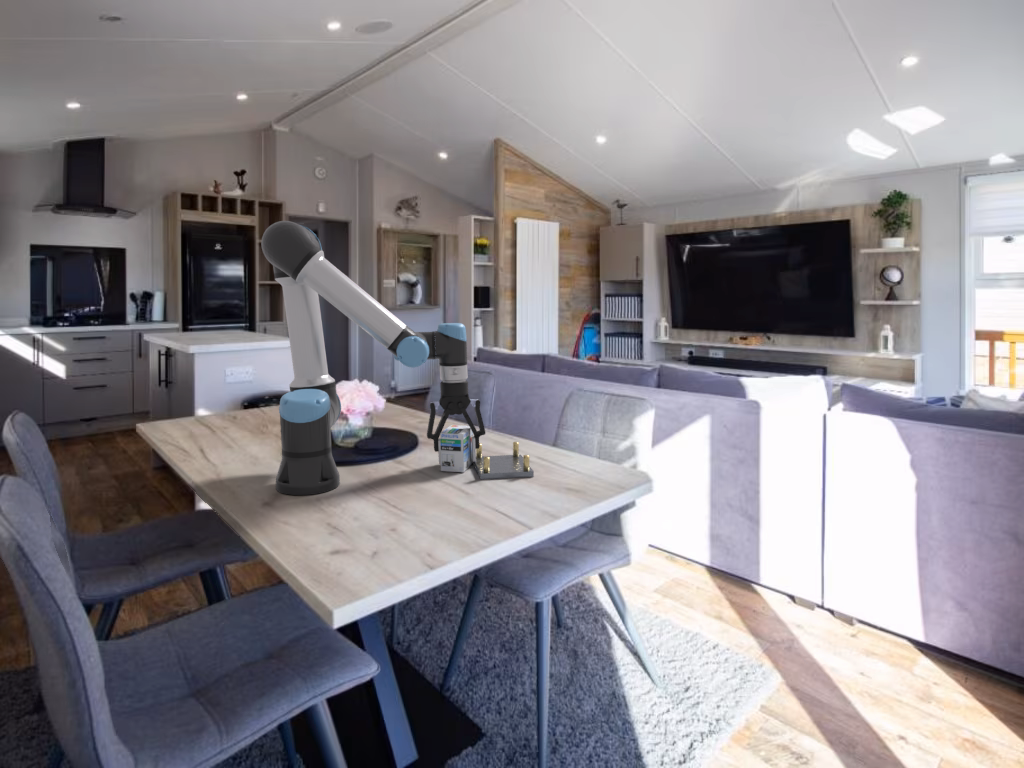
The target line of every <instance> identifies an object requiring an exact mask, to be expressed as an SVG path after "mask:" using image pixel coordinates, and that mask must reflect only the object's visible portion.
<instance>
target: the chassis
mask: <svg viewBox="0 0 1024 768" xmlns="http://www.w3.org/2000/svg"><path fill="white" fill-rule="evenodd" d="M519 445H520V443H519V441H513V442H512V454H507V455H505V454H504V455H503V454H502V455H483V443H482V442H479V449H476V461H474V462H473V463H472V464H473V466H474V468H475V471H476V472H477V474H478V476H479V479H480V480H494V479H495V480H497V479H516V478H517V479H518V478H534V470H533V468H532V466H531V465H530V458H531V457H530V454H523V456H522V455H521V454H519V452H520V451H519V450H520V448H519V447H520V446H519Z"/></svg>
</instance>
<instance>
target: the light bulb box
mask: <svg viewBox="0 0 1024 768" xmlns="http://www.w3.org/2000/svg"><path fill="white" fill-rule="evenodd" d="M471 436H474V434H473V432H472V430H471V428H470V426H469V425H459V424H458V425H457V424H450V425H449V426H448V427H446V428H445V429H443V430H442V432H441V433H440V436H439V438H440V442H441V464H440V471H441V472H451V473H452V472H455V473H465V472H466V471H467V470H468V469H469V468H470V466H471V465H472V464H473V460H472V444H471Z"/></svg>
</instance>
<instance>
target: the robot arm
mask: <svg viewBox="0 0 1024 768" xmlns="http://www.w3.org/2000/svg"><path fill="white" fill-rule="evenodd" d="M261 249H262V250H261V251H262V253H263V256H264V257H265V258H266V260H267V262H269V264H271V265H272V267H273V275H274V281H276V282H277V283H279V284H280V285H281V287H282V288H281V289H282V295H283V301H284V310H285V318H286V324H287V330H288V339H289V347H290V353H291V361H292V370H293V375H294V378H293V380H291V382H290V384H289V391H288V392H287V393H285V394H283V395H282V396H281V398H280V399H279V400H280V401H279V407H278V410H279V412H278V413H279V421H280V440H281V441H280V442H281V460H280V464H279V468H278V470H277V471H278V472H277V474H276V477H275V490H276V491H277V492H278V493H281V494H284V495H292V496H293V495H294V496H305V495H306V496H308V495H317V494H321V493H326V492H329V491H331V490H334V489H336V488H338V487H339V486H340V484H341V481H340V480H341V479H340V477H341V476H340V472H339V470H338V467H337V464H336V462H335V460H334V457H333V453H332V433H331V432H332V430H331V429H332V427H333V426H334V425H335V424H336V423H337V422H338V420H339V419H340V416H341V412H342V402H341V399H340V397H339V395H338V392H337V387H336V385H337V384H336V379H335V378H334V377H332V376H331V375H330V374H329V369H328V361H327V354H326V347H325V345H326V344H325V338H324V329H323V322H322V312H321V306H320V297H319V296H321V297H322V298H323V299H324V300H326V302H328V303H329V304H331V305H332V306H333V307H334V308H336V309H337V310H338V311H339V312H341V313H342V314H343V315H344V316H345V317H347V318H348V319H349V320H350V321H352V322H353V323H354V324H355V325H357V326H358V327H360V328H361V329H362V330H363V331H364V332H366V333H367V334H368V335H369V336H370V337H372V338H373V339H375V341H377V342H378V343H379V344H381V345H382V347H385V348H386V349H387V350H388V351H389V352H391V354H392V355H393V358H394V360H395V361H398V362H400V363H401V364H403V366H405V367H407V368H411V369H412V368H413V369H414V368H418V367H421V366H422V365H423V364H424V363H426V362H427V361H429V360H438V361H439V366H438V367H439V379H440V380H441V382H440V385H439V387H440V398H439V400H437V401H430V402H429V408H430V412H429V419H428V424H427V425H428V426H427V431H426V437H427V439H429V440H433V450H434V452H437V453H438V464H439V465H441V442H440V433H441V432H442V431H443V430H444V426H445V424H446V422H447V420H448V418H449V416H453V415H459V416H460V415H463V417H464V419H465V421H466V423H467V424H468V425H467V426H470V428H471V430H472V432H473V436H471V444H472V460H473V462H474V461H476V449H479V443H480V437H482V436H485V435H486V430H485V424H484V421H483V417H482V413H481V409H480V407H481V400H480V399H479V398H476V399H473V398H472V399H471V398H470V396H469V381H468V380H467V379H468V378H469V376H468V343H467V341H468V340H467V330H466V326H465V324H463V323H461V322H449V323H448V322H446V323H439V324H438V325H437V330H435V331H414V330H413V329H411V328H410V326H407V325H406V324H405V323H404V322H403V321H402V320H401V319H399V318H398V316H396V315H394V313H392V312H391V311H389V310H388V309H387V308H386V307H385V306H384V305H382V304H381V303H380V302H379V301H377V300H376V299H375V298H374V297H373V296H371V295H370V294H369V293H368V292H367V291H365V290H364V289H363V288H362V287H360V285H358V284H357V283H356V282H355V281H353V280H352V279H351V278H350V277H349V276H348V275H346V274H345V273H344V272H342V271H341V270H340V269H339V268H337V267H336V266H335V265H334V264H333V263H331V262H330V261H329V260H328V259H327V258H325V253H324V252H325V251H323V249H322V244H321V241H320V239H319V237H317V234H316V233H314V232H313V230H311V229H310V228H309V227H307V226H304V225H301V224H299V223H296V222H294V221H290V220H281V221H279V220H278V221H276V222H274V223H272V224H271V225H269V226H268V227H267V228H266V229H265V231H264V232H263V235H262V237H261ZM470 404H471V406H472V408H473V409H474V412H475V416H476V420H477V426H478V429H479V430H477V428H476V426H475V425H474V423H473V421H472V419H471V417H470V416H469V414H468V412H467V408H468V407H469V406H470ZM439 406H440V407H441V408H442V409H443V412H442V415H441V417H440V420H439V422H438V425H437V426H436V429H435V432H434V433H433V429H434V424H435V418H436V414H437V413H436V412H437V411H438V410H439ZM436 410H437V411H436Z"/></svg>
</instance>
